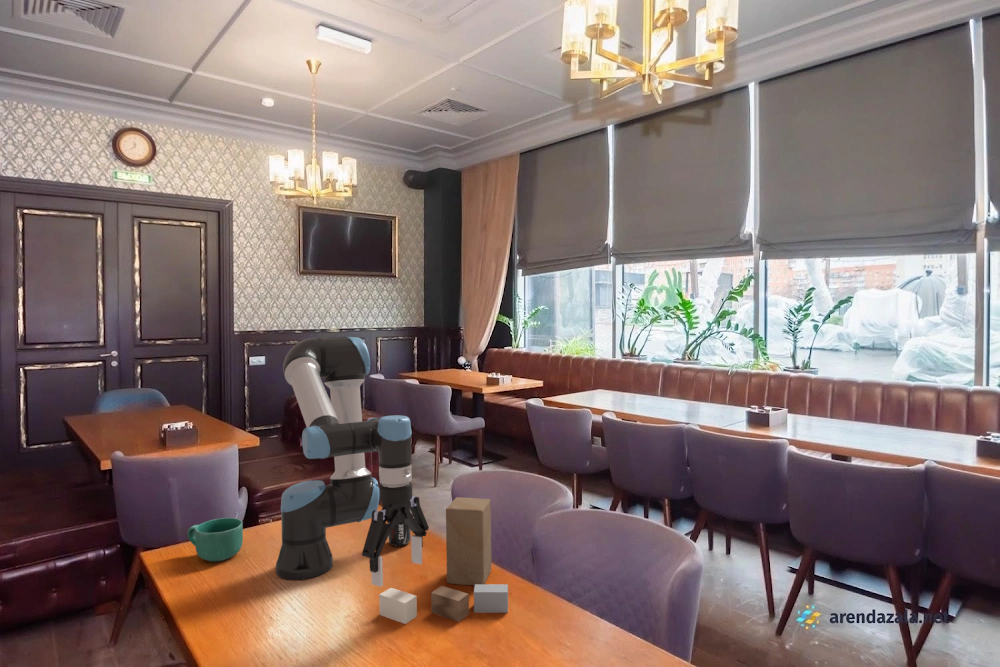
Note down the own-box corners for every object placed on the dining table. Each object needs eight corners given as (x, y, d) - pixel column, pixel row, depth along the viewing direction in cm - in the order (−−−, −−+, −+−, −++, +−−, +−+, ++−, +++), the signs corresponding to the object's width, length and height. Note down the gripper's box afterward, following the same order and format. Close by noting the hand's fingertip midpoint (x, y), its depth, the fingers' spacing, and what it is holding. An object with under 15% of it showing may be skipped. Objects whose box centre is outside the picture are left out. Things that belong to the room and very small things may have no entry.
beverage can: (408, 547, 176) (408, 508, 176) (386, 547, 176) (385, 508, 176) (412, 538, 183) (411, 501, 182) (390, 539, 183) (390, 501, 182)
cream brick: (379, 615, 137) (379, 594, 136) (391, 607, 140) (391, 587, 140) (405, 624, 132) (404, 603, 132) (416, 616, 136) (416, 595, 135)
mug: (252, 551, 175) (252, 520, 174) (220, 568, 163) (219, 535, 162) (209, 544, 180) (209, 514, 180) (175, 561, 168) (174, 528, 168)
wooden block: (483, 587, 150) (482, 510, 149) (446, 584, 152) (445, 508, 151) (491, 570, 160) (490, 498, 159) (456, 567, 162) (455, 496, 161)
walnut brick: (431, 613, 137) (431, 592, 137) (441, 606, 141) (441, 585, 140) (459, 622, 133) (458, 601, 133) (469, 614, 136) (468, 593, 136)
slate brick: (474, 613, 137) (473, 592, 137) (475, 604, 141) (474, 584, 141) (507, 613, 137) (507, 592, 137) (508, 604, 141) (507, 584, 141)
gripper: (369, 499, 123) (371, 599, 123) (441, 472, 144) (443, 557, 144) (344, 494, 126) (346, 591, 127) (418, 469, 148) (420, 551, 148)
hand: (398, 573), depth 135 cm, fingers open, 13 cm apart
